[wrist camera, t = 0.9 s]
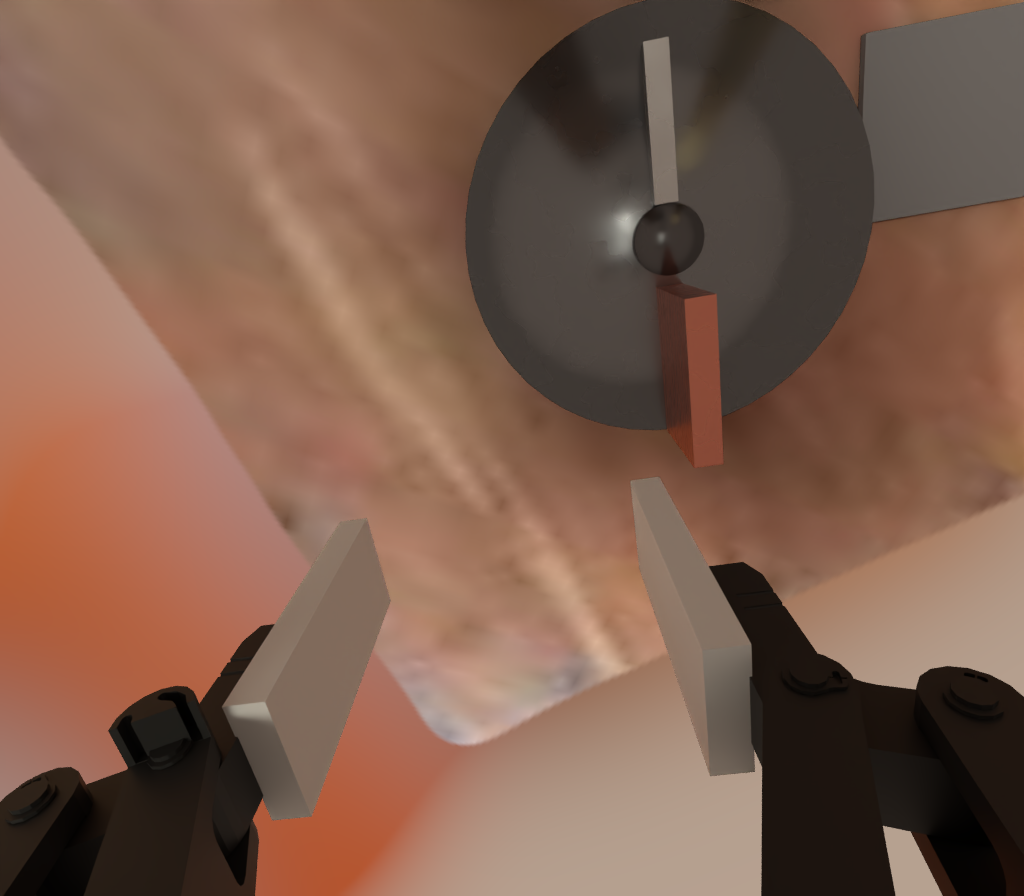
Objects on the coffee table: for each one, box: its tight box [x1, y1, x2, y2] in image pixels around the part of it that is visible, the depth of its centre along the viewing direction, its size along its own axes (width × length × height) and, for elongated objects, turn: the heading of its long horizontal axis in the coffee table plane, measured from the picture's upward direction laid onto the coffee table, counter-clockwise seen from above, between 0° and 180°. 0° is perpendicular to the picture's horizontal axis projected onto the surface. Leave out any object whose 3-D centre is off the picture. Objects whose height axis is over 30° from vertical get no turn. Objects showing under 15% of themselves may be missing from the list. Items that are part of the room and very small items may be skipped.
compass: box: [466, 0, 874, 468], centre depth 24 cm, size 18×18×7 cm
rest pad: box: [858, 2, 1024, 222], centre depth 26 cm, size 8×8×1 cm
